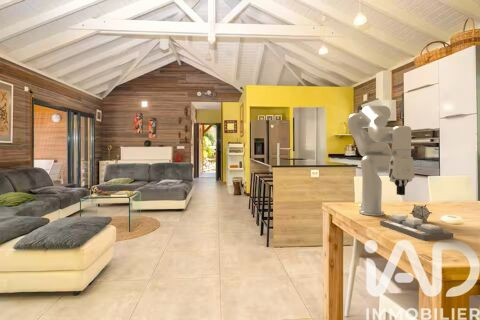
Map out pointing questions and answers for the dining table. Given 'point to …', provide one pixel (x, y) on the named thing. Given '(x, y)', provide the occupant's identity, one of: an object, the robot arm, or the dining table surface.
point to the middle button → (414, 221)
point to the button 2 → (429, 226)
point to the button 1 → (399, 216)
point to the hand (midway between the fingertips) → (400, 194)
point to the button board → (416, 230)
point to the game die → (420, 212)
